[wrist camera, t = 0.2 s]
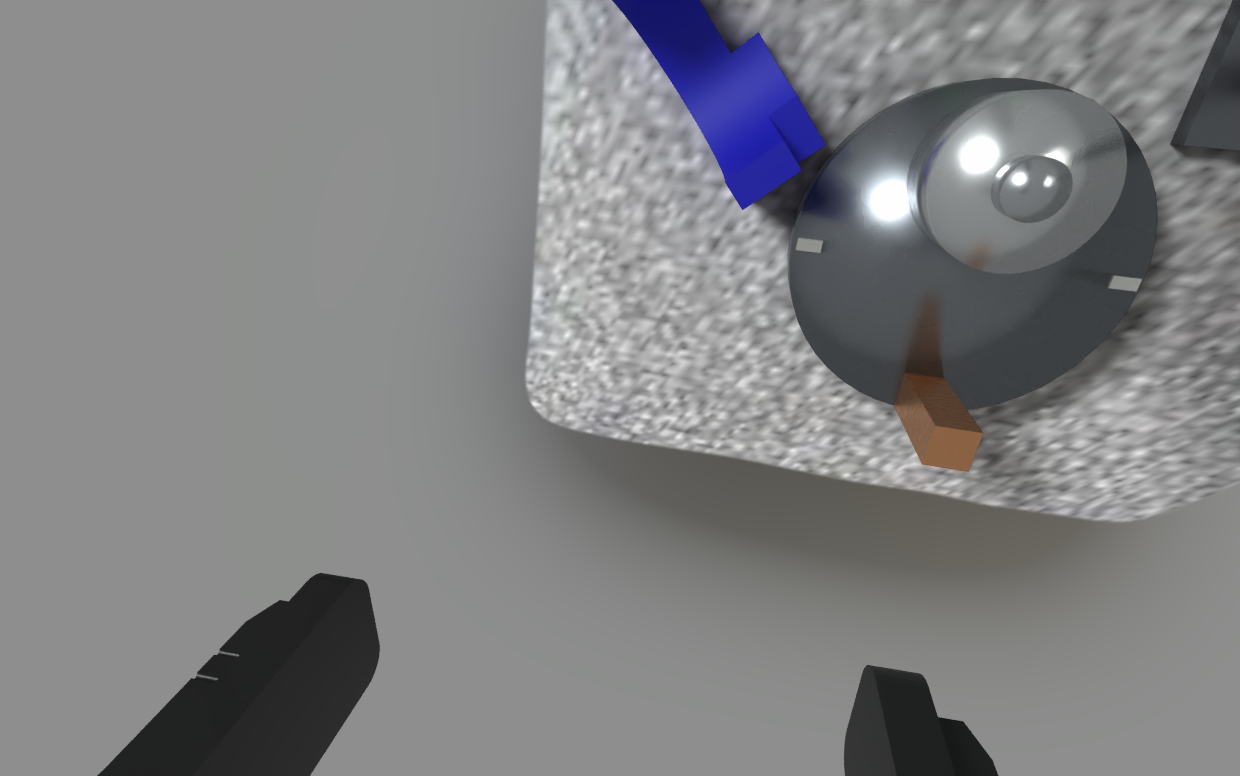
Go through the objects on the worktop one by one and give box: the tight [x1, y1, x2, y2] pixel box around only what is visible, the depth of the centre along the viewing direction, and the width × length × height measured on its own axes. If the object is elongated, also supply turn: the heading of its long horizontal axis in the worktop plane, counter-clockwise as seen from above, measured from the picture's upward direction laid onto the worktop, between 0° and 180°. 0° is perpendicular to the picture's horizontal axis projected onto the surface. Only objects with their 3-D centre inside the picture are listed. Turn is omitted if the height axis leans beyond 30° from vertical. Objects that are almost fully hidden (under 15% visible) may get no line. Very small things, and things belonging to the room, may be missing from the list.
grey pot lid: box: [788, 78, 1157, 472], centre depth 28 cm, size 16×16×8 cm
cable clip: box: [612, 0, 825, 210], centre depth 29 cm, size 12×4×6 cm, turn 36°
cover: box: [906, 89, 1127, 274], centre depth 26 cm, size 7×7×5 cm
